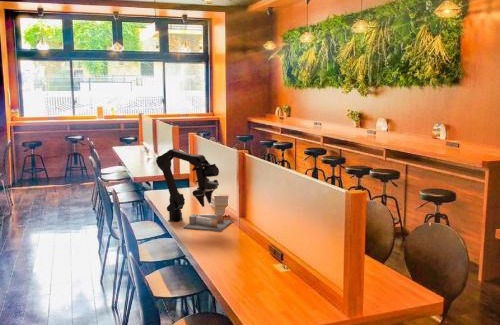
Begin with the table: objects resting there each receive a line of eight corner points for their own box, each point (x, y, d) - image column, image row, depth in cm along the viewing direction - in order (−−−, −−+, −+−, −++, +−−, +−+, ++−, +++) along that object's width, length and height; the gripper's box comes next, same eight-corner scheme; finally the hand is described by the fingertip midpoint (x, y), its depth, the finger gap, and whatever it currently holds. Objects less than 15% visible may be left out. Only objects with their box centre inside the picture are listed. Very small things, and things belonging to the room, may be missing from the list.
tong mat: (183, 228, 274) (183, 219, 273) (197, 219, 292) (197, 211, 291) (220, 231, 267) (220, 222, 266) (232, 222, 285) (232, 213, 284)
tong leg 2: (198, 221, 282) (198, 215, 282) (199, 221, 283) (199, 214, 283) (223, 222, 281) (223, 215, 280) (223, 221, 282) (223, 214, 282)
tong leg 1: (196, 223, 279) (195, 216, 279) (197, 222, 280) (197, 216, 280) (216, 227, 272) (215, 219, 271) (217, 226, 273) (217, 219, 272)
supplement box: (229, 214, 301) (228, 193, 298) (228, 217, 296) (227, 195, 294) (215, 214, 301) (215, 193, 299) (214, 216, 297) (213, 195, 294)
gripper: (208, 178, 265) (213, 207, 267) (221, 173, 283) (225, 200, 284) (189, 181, 269) (194, 209, 270) (203, 175, 287) (208, 202, 288)
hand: (206, 204), depth 278 cm, fingers open, 9 cm apart
